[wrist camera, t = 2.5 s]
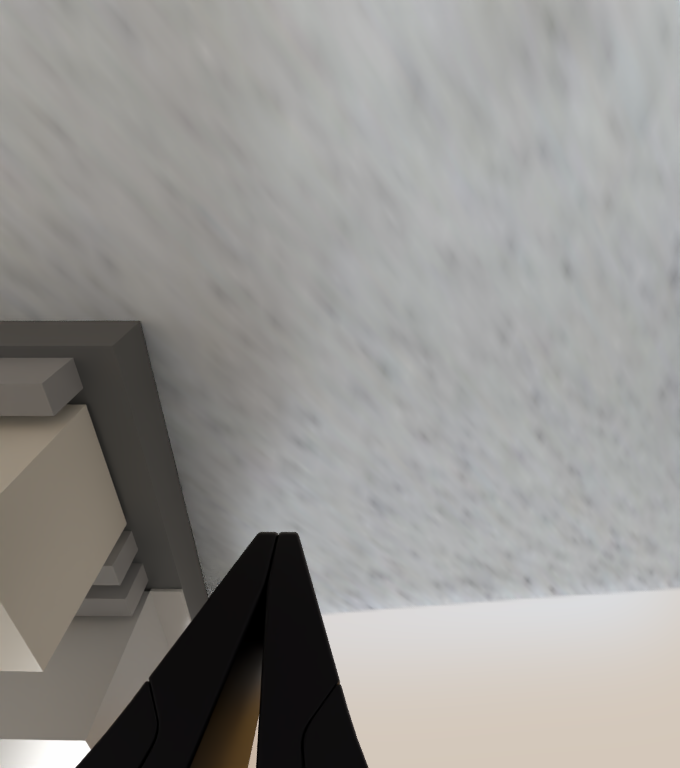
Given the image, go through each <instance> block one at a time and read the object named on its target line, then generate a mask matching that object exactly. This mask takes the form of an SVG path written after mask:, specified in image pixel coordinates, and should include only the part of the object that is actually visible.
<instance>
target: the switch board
mask: <svg viewBox="0 0 680 768" xmlns="http://www.w3.org/2000/svg"><path fill="white" fill-rule="evenodd" d="M66 404H70V405H86V406H87V409H88V412H89V415H90V418H91V421H92V423H93V426H94V429H95V432H96V435H97V438H98V441H99V444H100V447H101V450H102V453H103V456H104V459H105V461H106V464H107V467H108V470H109V473H110V476H111V479H112V482H113V485H114V488H115V491H116V494H117V497H118V499H119V502H120V505H121V508H122V511H123V514H124V517H125V520H126V523H127V524H126V526H125V528H124V530H123V531H122V533H121V535H120V537H119V538H118V540H117V542H116V544H115V546H114V547H113V549H112V551H111V553H110V554H109V556H108V558H107V560H106V561H105V563H104V565H103V567H102V569H101V570H100V572H99V574H98V576H97V577H96V579H95V581H94V583H93V584H92V586H91V588H90V590H89V591H88V593H87V595H86V597H85V599H84V600H83V602H82V604H81V606H80V607H79V609H78V611H77V613H76V614H75V616H133V614H134V612H135V609H136V607H137V605H138V603H139V600H140V598H141V596H142V594H143V591H150V593H151V596H152V599H153V602H154V605H155V608H156V610H157V613H158V616H159V619H160V622H161V625H162V628H163V631H164V634H165V637H166V640H167V643H168V645H169V648H170V649H171V647H172V646H173V645H174V643H175V642H176V641H177V639H178V638H179V637H180V635H181V634H182V633H183V632H184V630H185V629H186V628H187V626H188V625H189V624H190V622H191V621H192V620H193V618H194V617H195V616H196V614H197V613H198V612H199V610H200V609H201V608H202V606H203V605H204V604H205V602H206V601H207V600H208V596H207V592H206V588H205V584H204V580H203V576H202V572H201V567H200V563H199V559H198V555H197V551H196V547H195V543H194V539H193V535H192V531H191V527H190V523H189V519H188V515H187V510H186V506H185V502H184V498H183V494H182V490H181V486H180V482H179V478H178V474H177V470H176V466H175V462H174V458H173V453H172V449H171V445H170V441H169V437H168V433H167V429H166V425H165V421H164V417H163V413H162V409H161V405H160V400H159V396H158V392H157V388H156V384H155V380H154V376H153V372H152V368H151V364H150V360H149V356H148V352H147V348H146V343H145V339H144V335H143V331H142V327H141V323H140V321H0V416H55V415H56V414H57V413H58V412H59V411H60V410H61V409H62V408H63V407H64V406H65V405H66Z"/></svg>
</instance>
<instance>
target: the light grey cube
mask: <svg viewBox="0 0 680 768" xmlns="http://www.w3.org/2000/svg"><path fill="white" fill-rule="evenodd" d="M169 650H170V648H169V645H168V643H167V640H166V637H165V634H164V631H163V628H162V625H161V622H160V619H159V616H158V613H157V610H156V608H155V605H154V602H153V599H152V596H151V593H150V591H143V594H142V596H141V598H140V600H139V603H138V605H137V607H136V609H135V612H134V614H133V616H74V618H73V620H72V622H71V623H70V625H69V627H68V629H67V630H66V632H65V634H64V636H63V637H62V639H61V641H60V643H59V645H58V646H57V648H56V650H55V652H54V653H53V655H52V657H51V659H50V660H49V662H48V664H47V666H46V668H45V669H44V671H43V672H28V671H0V768H75V767H76V766H77V765H78V764H79V763H80V762H81V760H82V759H83V758H84V757H85V756H86V755H87V753H88V752H89V751H90V750H91V749H92V748H93V747H94V745H95V744H96V743H97V742H98V741H99V740H100V738H101V737H102V736H103V735H104V734H105V733H106V732H107V730H108V729H109V728H110V726H111V725H112V724H113V723H114V721H115V720H116V719H117V718H118V716H119V715H120V714H121V713H122V711H123V710H124V709H125V708H126V706H127V705H128V704H129V703H130V701H131V700H132V699H133V697H134V696H135V695H136V693H137V692H138V691H139V689H140V688H141V687H142V685H143V684H144V683H145V682H146V681H149V676H150V675H151V674H152V672H153V671H154V670H155V668H156V667H157V666H158V665H159V663H160V662H161V661H162V659H163V658H164V657H165V655H166V654H167V653H168V651H169Z"/></svg>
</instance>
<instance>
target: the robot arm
mask: <svg viewBox="0 0 680 768" xmlns="http://www.w3.org/2000/svg"><path fill="white" fill-rule="evenodd" d="M258 717H259V727H258V744H257V763H256V768H368V765H367V763H366V760H365V758H364V755H363V752H362V749H361V747H360V744H359V742H358V739H357V736H356V733H355V730H354V727H353V724H352V720H351V717H350V714H349V711H348V708H347V704H346V701H345V697H344V694H343V690H342V687H341V685H340V680H339V676H338V673H337V669H336V666H335V663H334V659H333V655H332V652H331V648H330V645H329V641H328V637H327V634H326V630H325V627H324V623H323V620H322V616H321V612H320V609H319V605H318V602H317V598H316V595H315V591H314V588H313V584H312V581H311V577H310V573H309V570H308V566H307V563H306V559H305V556H304V552H303V549H302V545H301V541H300V538H299V535H298V533H296V532H281V533H279V535H278V533H276V532H260V533H258V534H257V535H256V536H255V538H254V539H253V540H252V542H251V543H250V544H249V546H248V547H247V548H246V550H245V551H244V552H243V554H242V555H241V556H240V558H239V559H238V560H237V562H236V563H235V564H234V566H233V567H232V568H231V569H230V571H229V572H228V573H227V575H226V576H225V577H224V579H223V580H222V581H221V583H220V584H219V585H218V587H217V588H216V589H215V591H214V592H213V593H212V595H211V596H210V597H209V599H208V600H207V601H206V602H205V604H204V605H203V606H202V608H201V609H200V610H199V612H198V613H197V614H196V616H195V617H194V618H193V620H192V621H191V622H190V624H189V625H188V626H187V628H186V629H185V630H184V632H183V633H182V634H181V635H180V637H179V638H178V639H177V641H176V642H175V643H174V645H173V646H172V647H171V649H170V650H169V651H168V653H167V654H166V655H165V657H164V658H163V659H162V661H161V662H160V663H159V665H158V666H157V667H156V668H155V670H154V671H153V672H152V674H151V675H150V676H149V681H146V682H145V683H144V684H143V685H142V687H141V688H140V689H139V691H138V692H137V693H136V695H135V696H134V697H133V699H132V700H131V701H130V703H129V704H128V705H127V706H126V708H125V709H124V710H123V711H122V713H121V714H120V715H119V716H118V718H117V719H116V720H115V721H114V723H113V724H112V725H111V726H110V728H109V729H108V730H107V732H106V733H105V734H104V735H103V736H102V737H101V738H100V740H99V741H98V742H97V743H96V744H95V745H94V747H93V748H92V749H91V750H90V751H89V752H88V753H87V755H86V756H85V757H84V758H83V759H82V760H81V762H80V763H79V764H78V765H77V766H76V767H75V768H248V764H249V759H250V755H251V750H252V745H253V740H254V736H255V730H256V726H257V721H258Z"/></svg>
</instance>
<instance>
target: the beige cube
mask: <svg viewBox="0 0 680 768" xmlns="http://www.w3.org/2000/svg"><path fill="white" fill-rule="evenodd" d="M126 524H127V523H126V520H125V517H124V514H123V511H122V508H121V505H120V502H119V499H118V497H117V494H116V491H115V488H114V485H113V482H112V479H111V476H110V473H109V470H108V467H107V464H106V461H105V459H104V456H103V453H102V450H101V447H100V444H99V441H98V438H97V435H96V432H95V429H94V426H93V423H92V421H91V418H90V415H89V412H88V409H87V406H86V405H70V404H66V405H65V406H64V407H63V408H62V409H61V410H60V411H59V412H58V413H57V414H56V415H55V416H0V671H28V672H43V671H44V669H45V668H46V666H47V664H48V662H49V660H50V659H51V657H52V655H53V653H54V652H55V650H56V648H57V646H58V645H59V643H60V641H61V639H62V637H63V636H64V634H65V632H66V630H67V629H68V627H69V625H70V623H71V622H72V620H73V618H74V616H75V614H76V613H77V611H78V609H79V607H80V606H81V604H82V602H83V600H84V599H85V597H86V595H87V593H88V591H89V590H90V588H91V586H92V584H93V583H94V581H95V579H96V577H97V576H98V574H99V572H100V570H101V569H102V567H103V565H104V563H105V561H106V560H107V558H108V556H109V554H110V553H111V551H112V549H113V547H114V546H115V544H116V542H117V540H118V538H119V537H120V535H121V533H122V531H123V530H124V528H125V526H126Z"/></svg>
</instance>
